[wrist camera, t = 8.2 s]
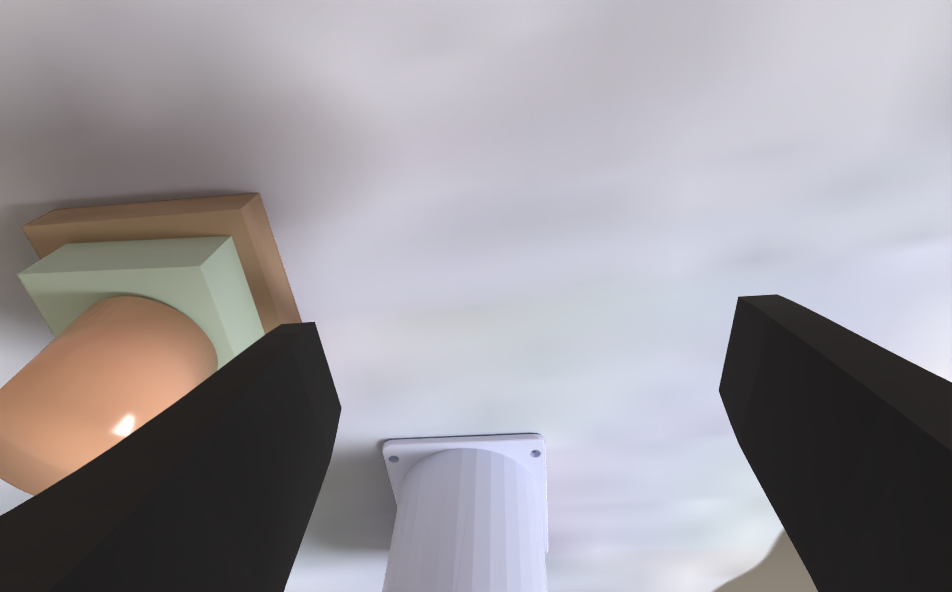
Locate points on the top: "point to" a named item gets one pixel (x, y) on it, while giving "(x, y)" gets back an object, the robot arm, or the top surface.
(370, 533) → the top surface
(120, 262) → the tower top
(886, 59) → the top surface
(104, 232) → the tower base
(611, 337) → the top surface
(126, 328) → the terracotta cylinder
